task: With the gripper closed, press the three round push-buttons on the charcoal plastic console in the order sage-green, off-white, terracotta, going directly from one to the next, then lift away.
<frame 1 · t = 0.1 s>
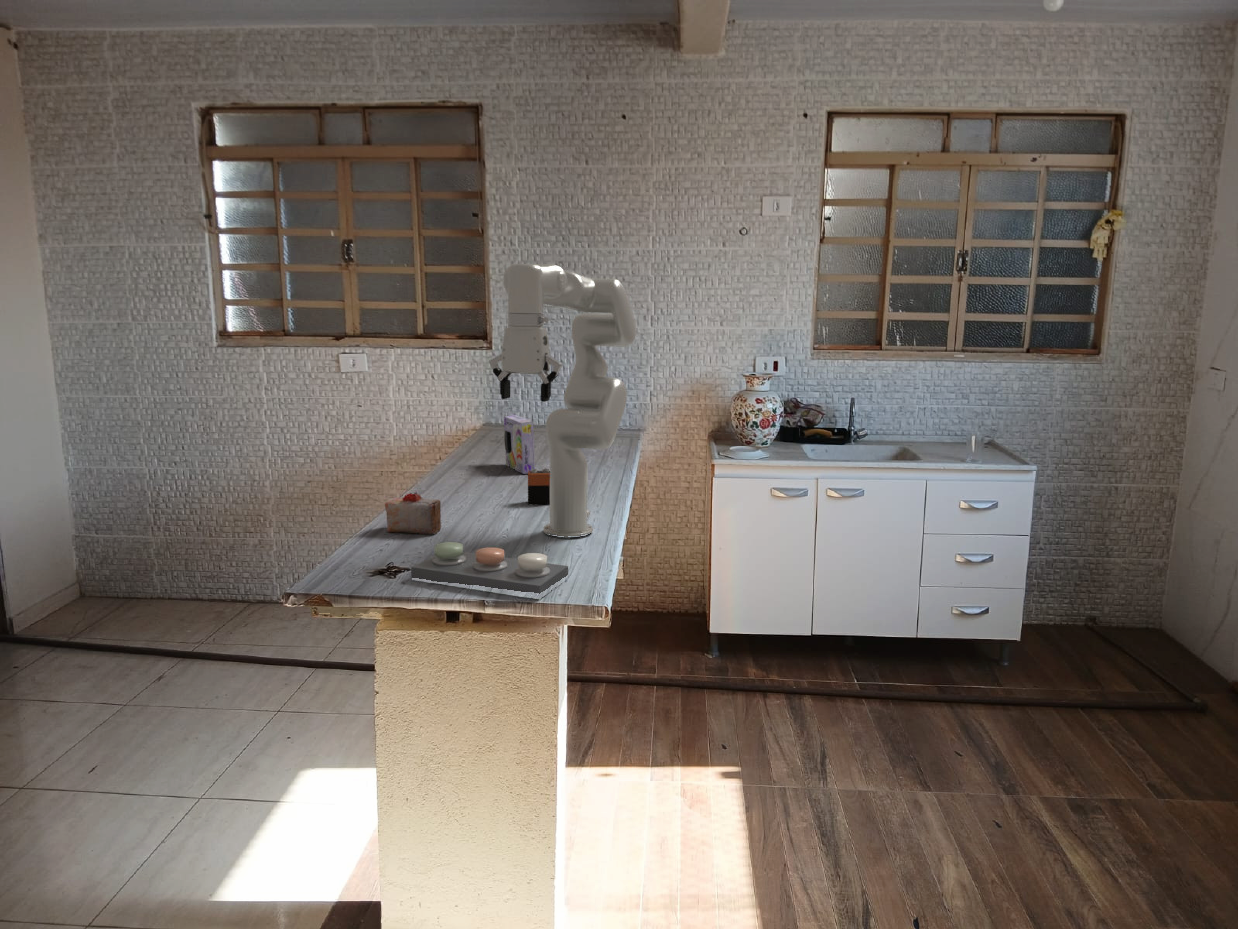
hand: (525, 399, 199), 37 cm above the worktop, tool pointing down, fingers open, 9 cm apart
button terracotta: (490, 555, 190), point 5 cm above the worktop, slide at 0.0 cm
button green: (448, 550, 193), point 5 cm above the worktop, slide at 0.0 cm
battery: (539, 503, 258), on the worktop
console: (490, 580, 191), on the worktop
food item: (413, 531, 227), on the worktop
button white: (532, 561, 186), point 5 cm above the worktop, slide at 0.0 cm
cake pan box: (519, 469, 304), on the worktop
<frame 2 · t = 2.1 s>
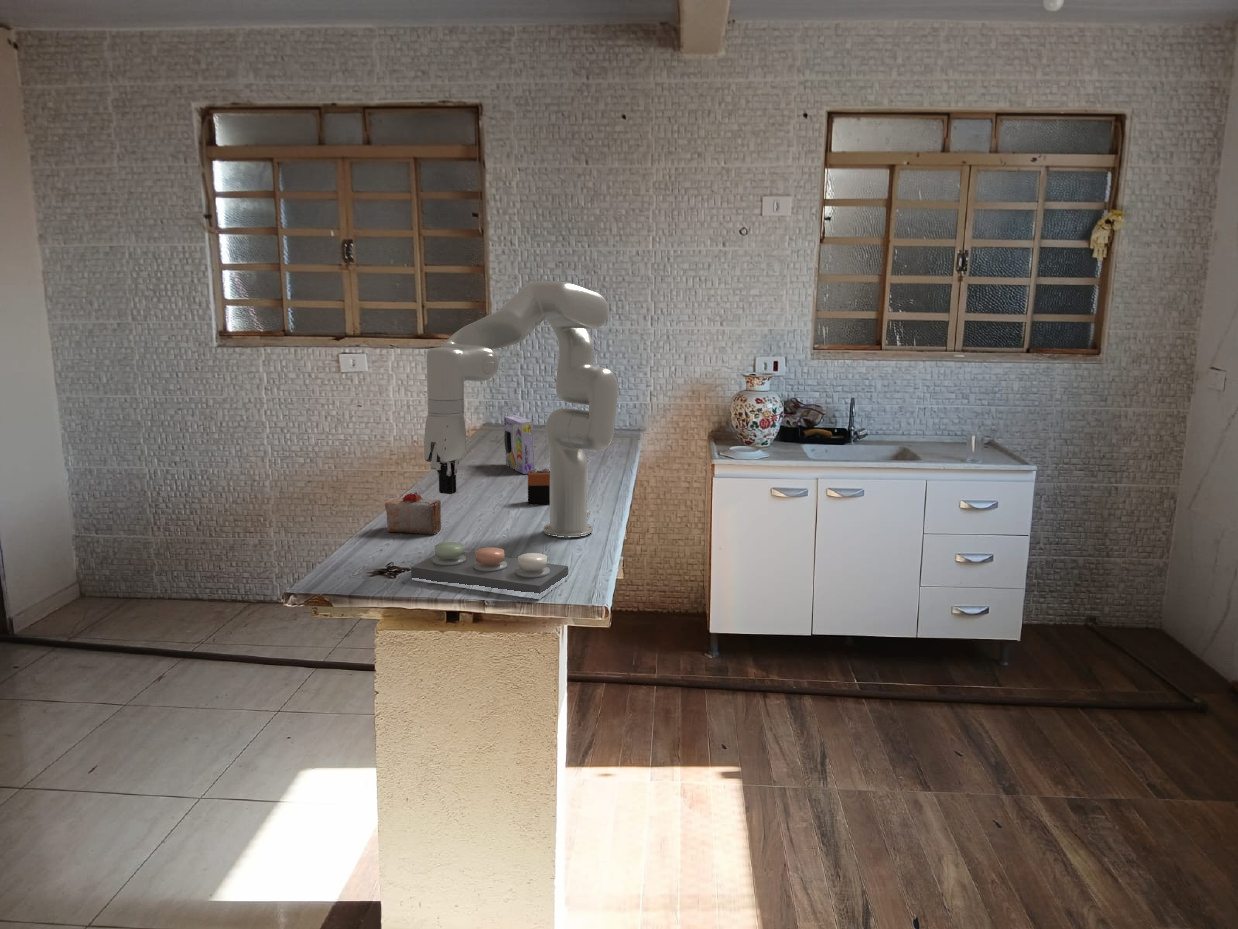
hand: (447, 492, 191), 18 cm above the worktop, tool pointing down, fingers closed
nothing on the worktop moved.
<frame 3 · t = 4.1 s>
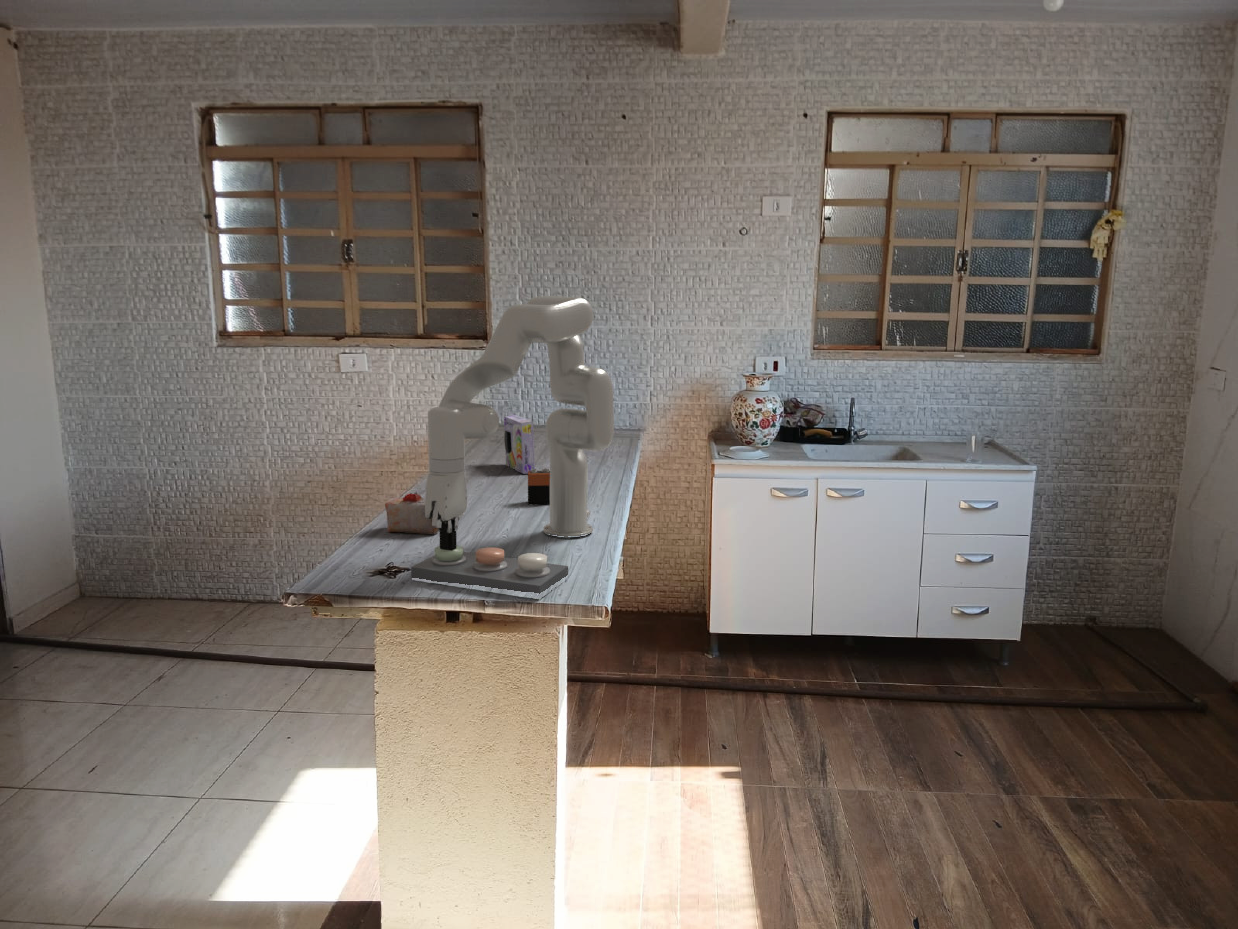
hand: (448, 548, 193), 6 cm above the worktop, tool pointing down, fingers closed
button green: (449, 552, 193), point 5 cm above the worktop, slide at 0.6 cm, touching gripper
everything else where it was.
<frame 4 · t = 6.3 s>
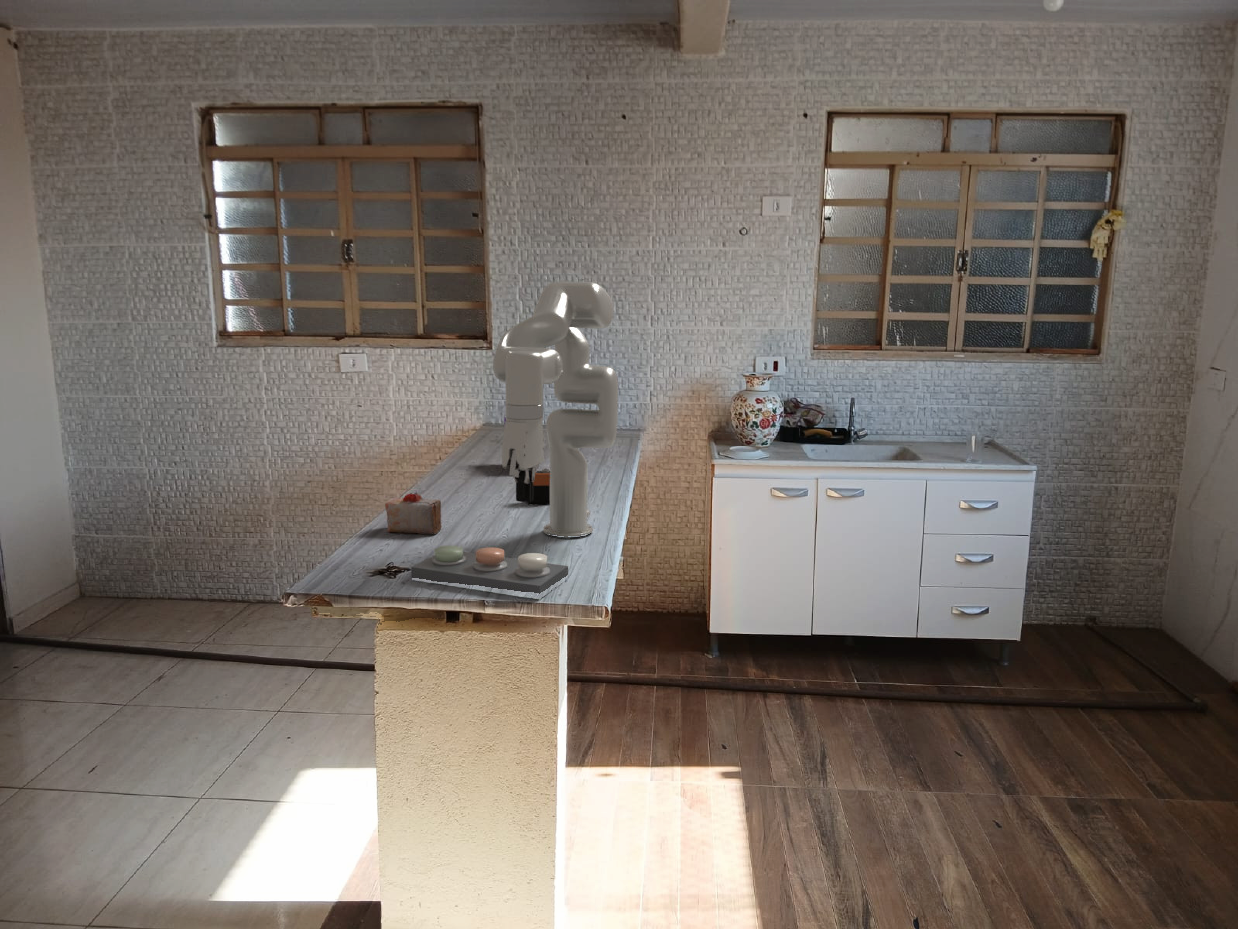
hand: (524, 500, 184), 18 cm above the worktop, tool pointing down, fingers closed
button green: (449, 553, 193), point 5 cm above the worktop, slide at 0.8 cm
everything else where it was.
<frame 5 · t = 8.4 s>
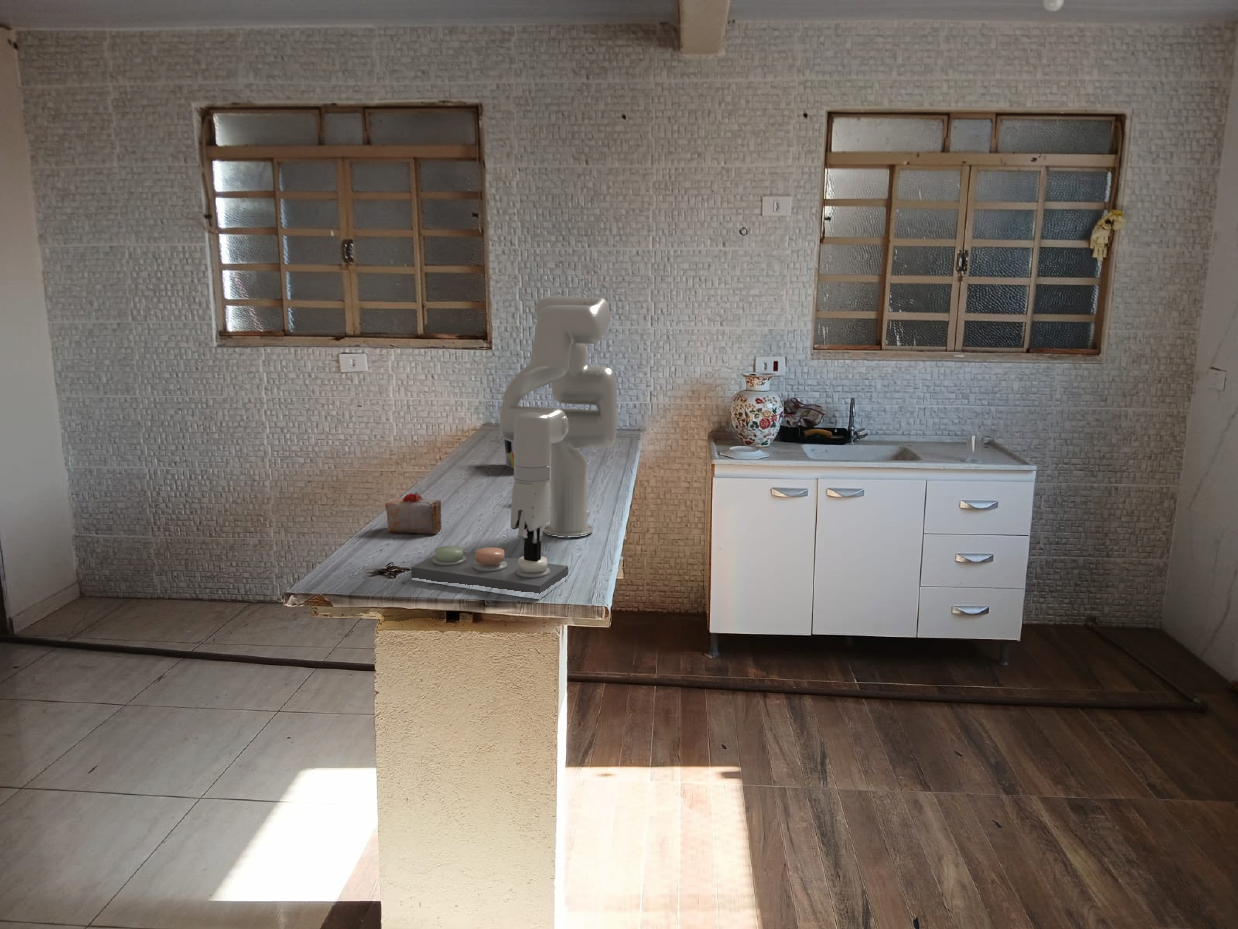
hand: (532, 559, 186), 6 cm above the worktop, tool pointing down, fingers closed
button white: (532, 563, 186), point 5 cm above the worktop, slide at 0.5 cm, touching gripper
everything else where it was.
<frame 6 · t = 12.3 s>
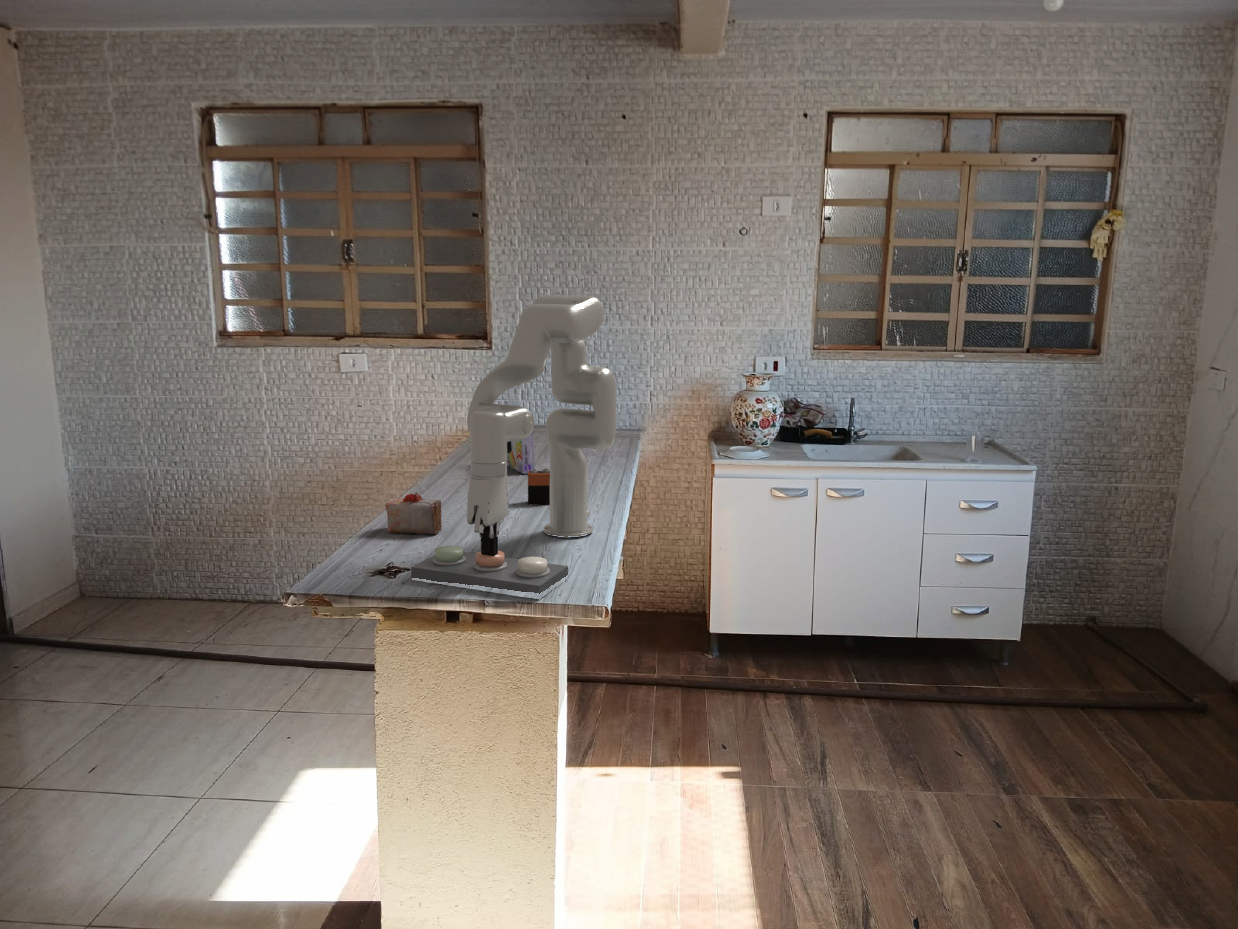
hand: (489, 554, 189), 6 cm above the worktop, tool pointing down, fingers closed
button terracotta: (490, 558, 190), point 5 cm above the worktop, slide at 0.6 cm, touching gripper
button white: (532, 565, 186), point 5 cm above the worktop, slide at 0.8 cm
everything else where it was.
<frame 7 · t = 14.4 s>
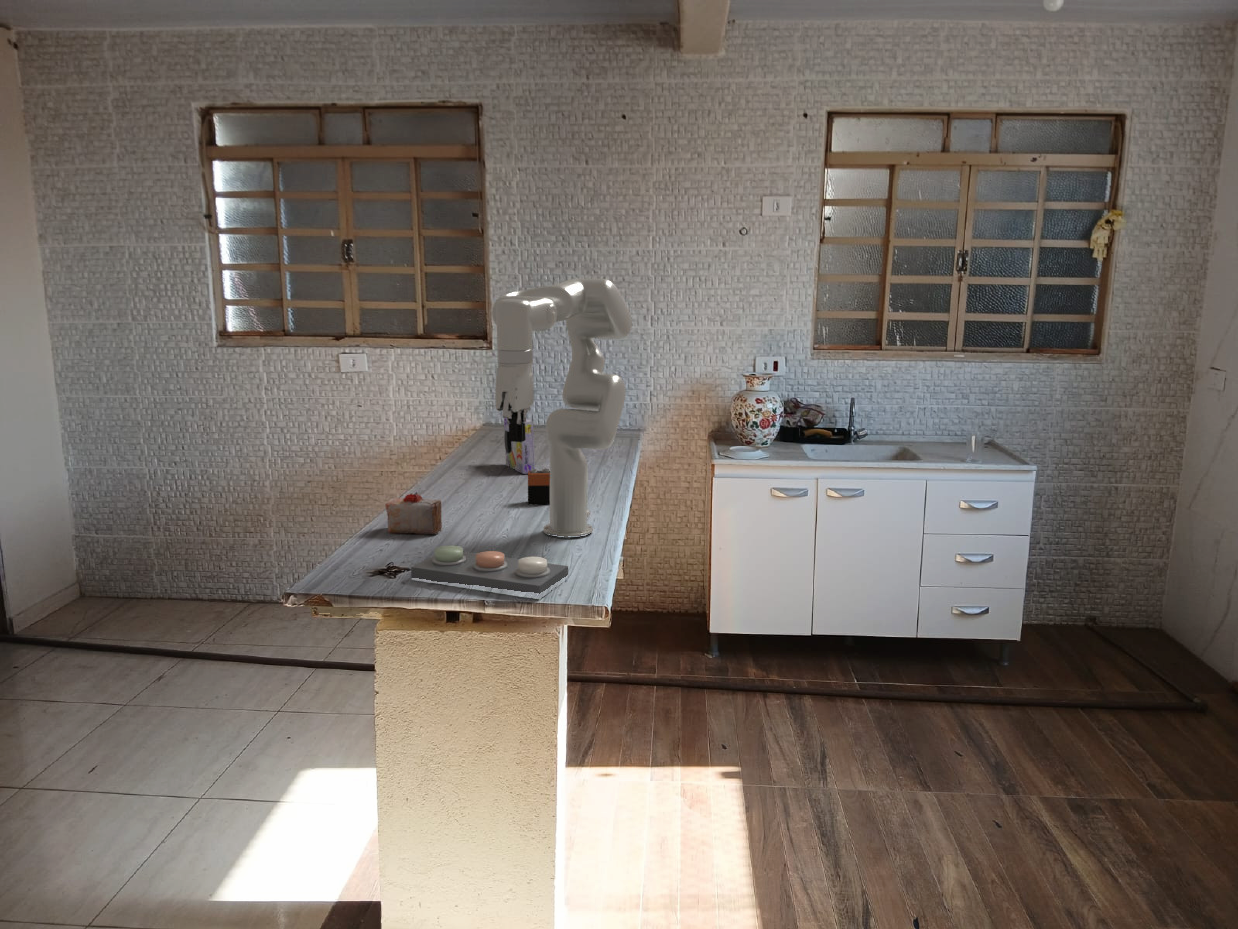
hand: (517, 440, 197), 28 cm above the worktop, tool pointing down, fingers closed
button terracotta: (490, 559, 190), point 5 cm above the worktop, slide at 0.8 cm
everything else where it was.
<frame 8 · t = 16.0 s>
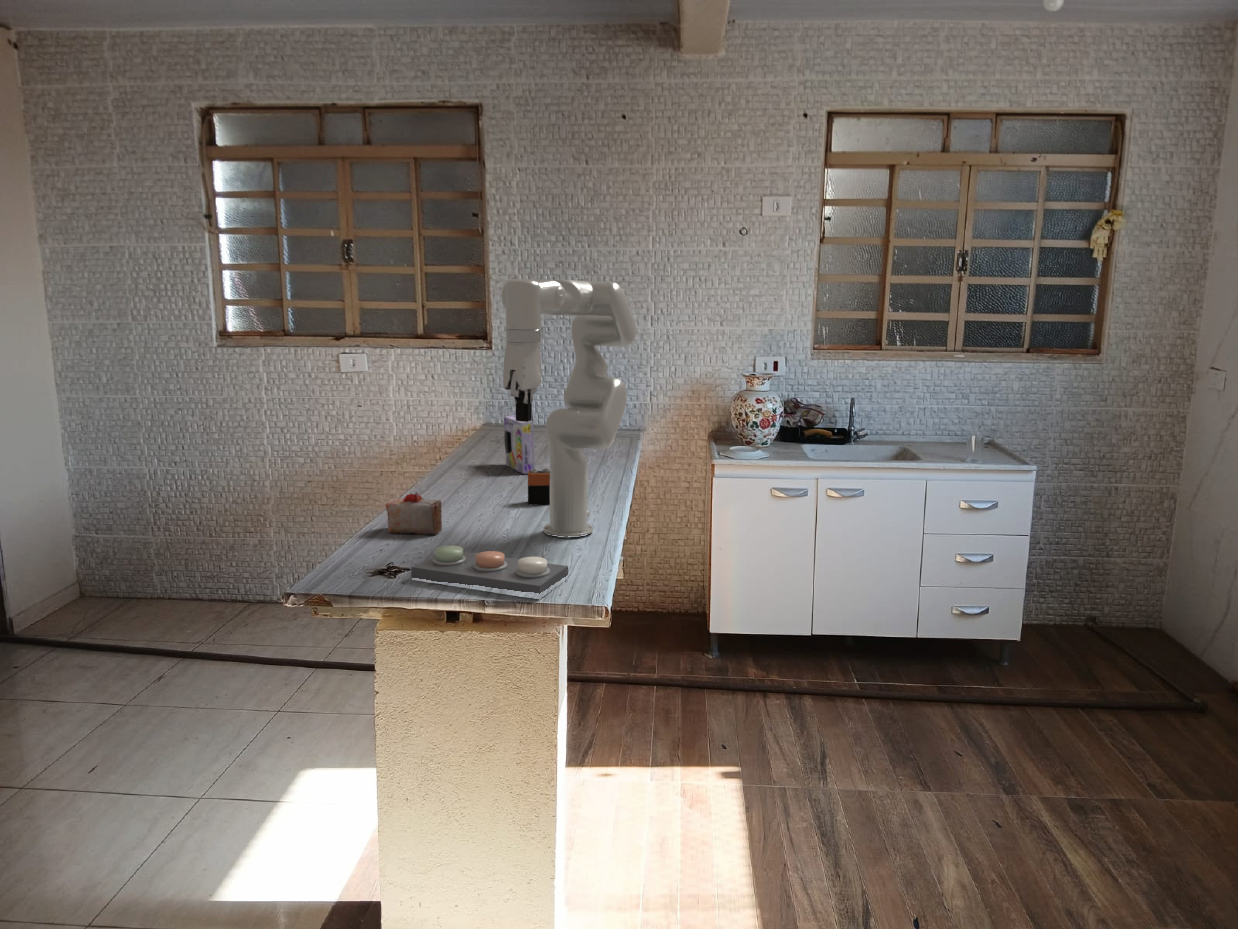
hand: (523, 420, 199), 32 cm above the worktop, tool pointing down, fingers closed
nothing on the worktop moved.
at the end: button green slide at 0.8 cm; button white slide at 0.8 cm; button terracotta slide at 0.8 cm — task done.
